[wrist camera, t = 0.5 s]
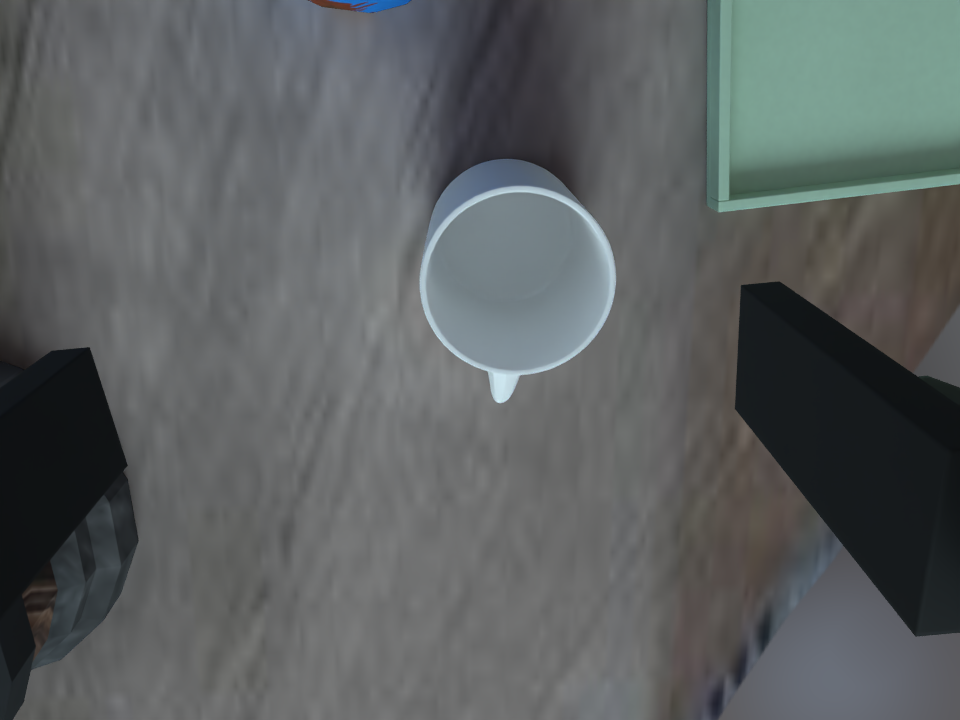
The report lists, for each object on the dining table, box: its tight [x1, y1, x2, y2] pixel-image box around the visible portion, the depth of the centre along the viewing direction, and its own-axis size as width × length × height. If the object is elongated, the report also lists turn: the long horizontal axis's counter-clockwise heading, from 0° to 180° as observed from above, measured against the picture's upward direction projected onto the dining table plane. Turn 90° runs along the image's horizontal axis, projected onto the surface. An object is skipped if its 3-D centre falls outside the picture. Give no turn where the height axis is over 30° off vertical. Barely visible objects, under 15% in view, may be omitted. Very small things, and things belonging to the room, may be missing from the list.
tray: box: [707, 0, 960, 212], centre depth 37 cm, size 16×16×2 cm
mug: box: [420, 159, 616, 403], centre depth 37 cm, size 9×12×11 cm
